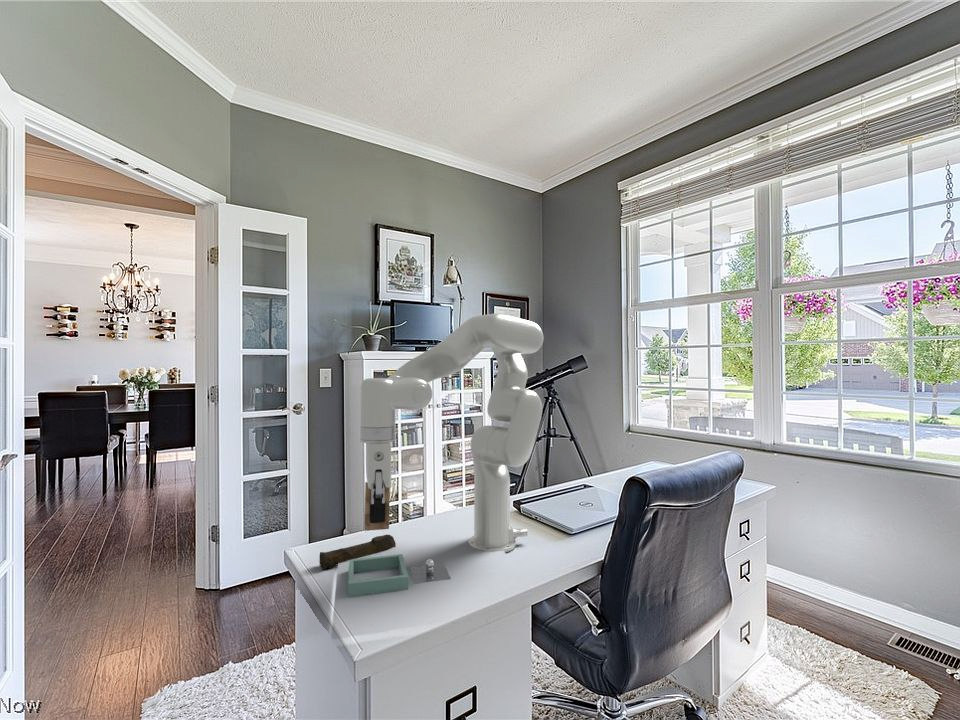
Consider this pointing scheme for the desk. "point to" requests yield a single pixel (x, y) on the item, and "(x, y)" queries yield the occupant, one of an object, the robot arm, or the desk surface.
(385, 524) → the brown wooden block
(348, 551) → the hand tool
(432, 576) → the stud base
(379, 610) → the desk surface
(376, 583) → the bin
